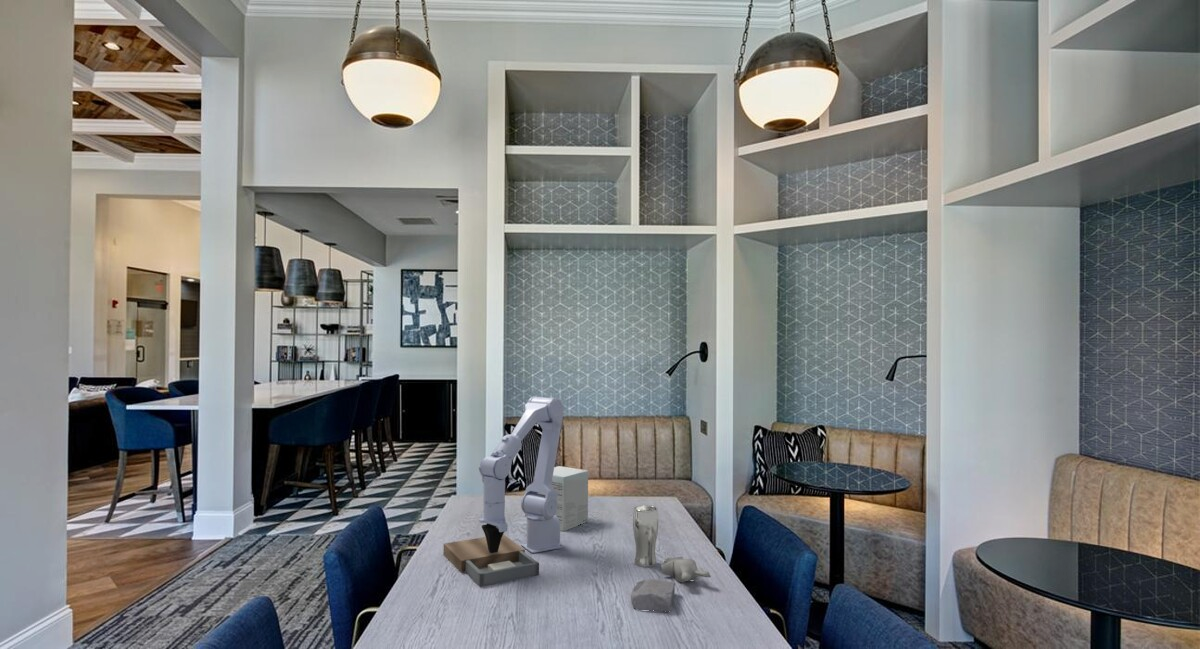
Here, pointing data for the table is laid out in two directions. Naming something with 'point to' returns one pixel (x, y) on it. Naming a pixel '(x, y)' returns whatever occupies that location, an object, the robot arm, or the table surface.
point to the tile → (500, 565)
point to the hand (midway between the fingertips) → (493, 552)
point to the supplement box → (571, 496)
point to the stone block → (653, 595)
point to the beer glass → (645, 534)
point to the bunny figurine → (682, 569)
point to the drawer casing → (480, 552)
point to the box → (503, 571)
